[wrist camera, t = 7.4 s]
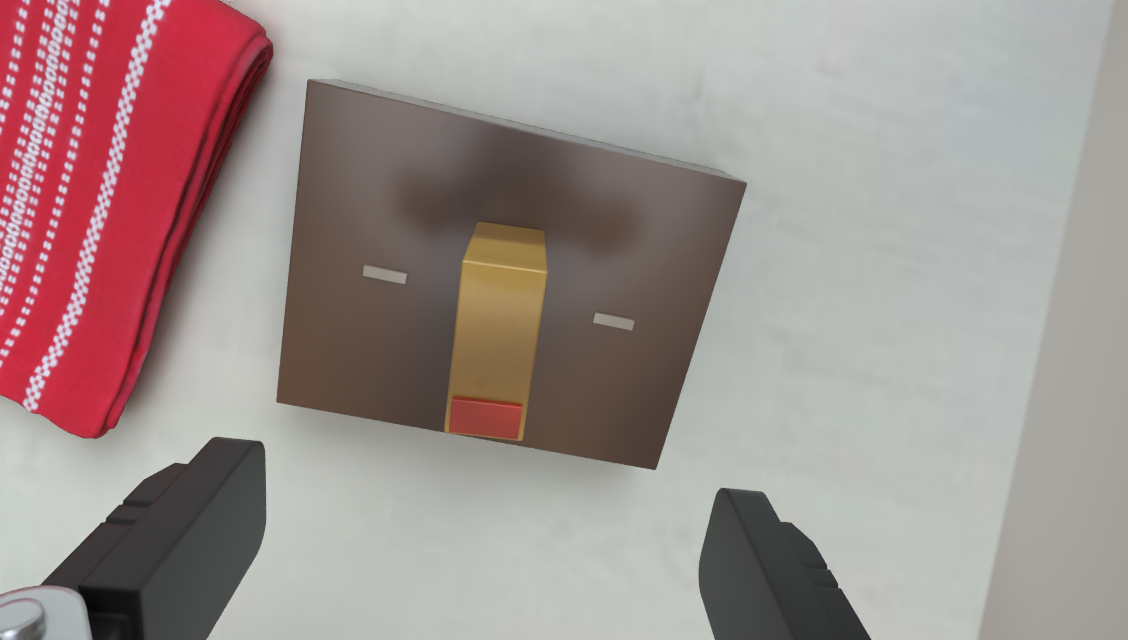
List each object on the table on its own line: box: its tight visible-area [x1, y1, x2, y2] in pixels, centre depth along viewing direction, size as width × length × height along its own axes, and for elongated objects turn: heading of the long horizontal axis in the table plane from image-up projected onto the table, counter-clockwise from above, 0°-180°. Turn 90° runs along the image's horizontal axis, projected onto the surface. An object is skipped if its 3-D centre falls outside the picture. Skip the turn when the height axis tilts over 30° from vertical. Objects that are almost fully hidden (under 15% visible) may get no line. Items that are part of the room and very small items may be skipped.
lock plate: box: [276, 79, 747, 470], centre depth 24 cm, size 14×11×3 cm
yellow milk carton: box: [444, 221, 548, 441], centre depth 20 cm, size 5×2×5 cm, turn 171°
